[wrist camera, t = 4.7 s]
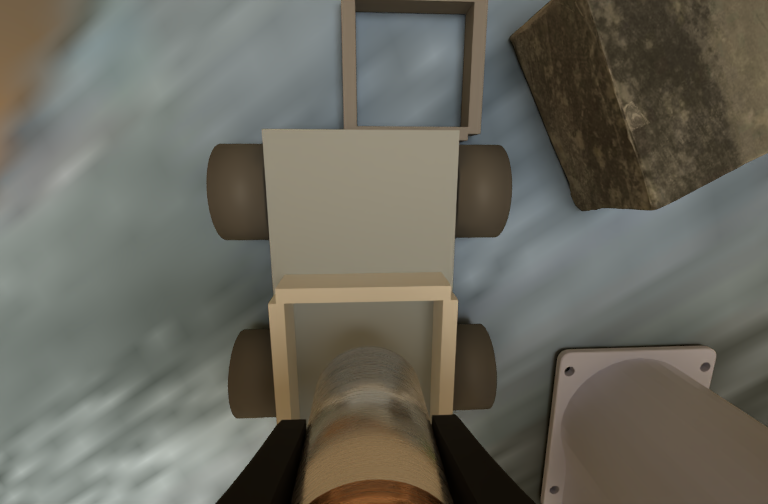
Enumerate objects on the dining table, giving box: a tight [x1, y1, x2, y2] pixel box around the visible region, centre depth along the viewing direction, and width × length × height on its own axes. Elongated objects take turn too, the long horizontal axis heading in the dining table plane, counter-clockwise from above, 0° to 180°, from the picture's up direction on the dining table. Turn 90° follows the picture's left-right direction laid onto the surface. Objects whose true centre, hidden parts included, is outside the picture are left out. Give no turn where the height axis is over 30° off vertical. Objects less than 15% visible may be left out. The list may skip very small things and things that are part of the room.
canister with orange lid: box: [291, 346, 454, 504], centre depth 8 cm, size 3×3×6 cm
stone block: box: [510, 0, 768, 211], centre depth 14 cm, size 9×14×5 cm, turn 116°
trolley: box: [207, 0, 512, 430], centre depth 14 cm, size 17×10×5 cm, turn 0°
